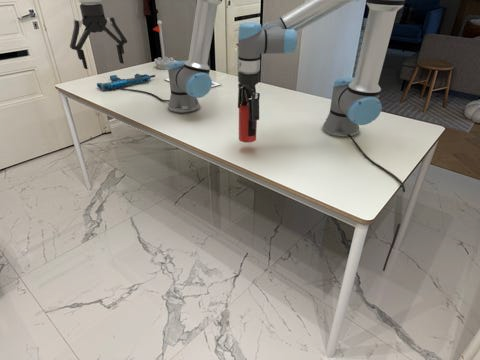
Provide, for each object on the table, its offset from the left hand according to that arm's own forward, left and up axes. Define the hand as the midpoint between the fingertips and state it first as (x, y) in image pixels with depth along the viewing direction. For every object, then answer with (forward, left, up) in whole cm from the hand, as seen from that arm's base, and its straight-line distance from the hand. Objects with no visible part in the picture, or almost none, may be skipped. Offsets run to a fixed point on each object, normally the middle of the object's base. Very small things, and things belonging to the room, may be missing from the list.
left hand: (104, 65), depth 130 cm
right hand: (+42, +38, -22) cm, 61 cm away
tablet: (-48, +62, -30) cm, 84 cm away
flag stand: (-91, +63, -30) cm, 114 cm away
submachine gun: (-72, +28, -30) cm, 83 cm away
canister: (+42, +38, -25) cm, 62 cm away
